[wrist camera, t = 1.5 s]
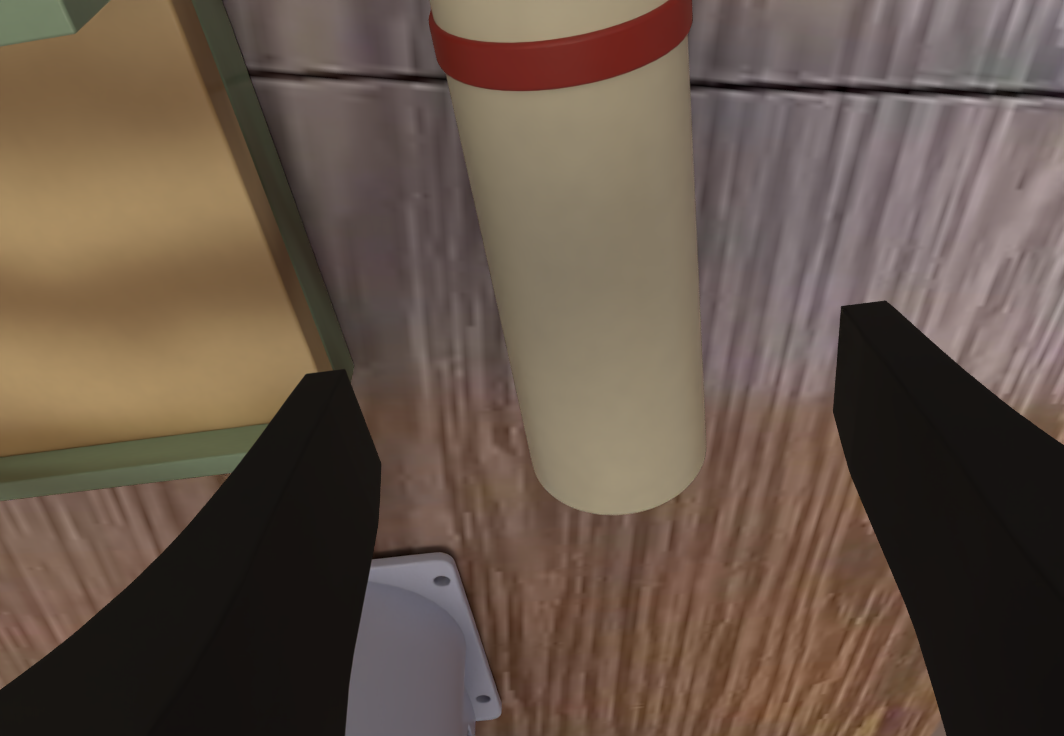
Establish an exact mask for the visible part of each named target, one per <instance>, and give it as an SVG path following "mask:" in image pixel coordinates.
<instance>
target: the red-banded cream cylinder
mask: <svg viewBox="0 0 1064 736" xmlns="http://www.w3.org/2000/svg"><path fill="white" fill-rule="evenodd" d="M429 1H430V5H431V11H430V15H429V27H430V32H431V36H432V40H433V45H434V49H435V54H436V58H437V61H438V63H439V66H440V67H441V69H442V70H443V71H444V72H445V73H446V77H447V82H448V86H449V91H450V95H451V100H452V104H453V109H454V113H455V118H456V122H457V127H458V131H459V136H460V140H461V145H462V149H463V154H464V158H465V163H466V167H467V172H468V176H469V181H470V185H471V190H472V194H473V199H474V203H475V208H476V212H477V217H478V221H479V226H480V230H481V235H482V239H483V244H484V248H485V253H486V257H487V262H488V266H489V271H490V275H491V280H492V284H493V289H494V293H495V298H496V302H497V307H498V311H499V316H500V320H501V325H502V329H503V334H504V338H505V343H506V347H507V352H508V356H509V361H510V365H511V370H512V374H513V379H514V384H515V388H516V393H517V397H518V402H519V406H520V411H521V415H522V420H523V424H524V429H525V433H526V438H527V442H528V447H529V451H530V456H531V460H532V465H533V469H534V471H535V474H536V476H537V478H538V480H539V482H540V483H541V484H542V486H543V487H544V488H545V489H546V490H547V491H548V492H549V493H550V494H551V495H552V496H553V497H554V498H556V499H557V500H559V501H560V502H562V503H564V504H566V505H568V506H570V507H572V508H575V509H578V510H581V511H584V512H588V513H593V514H601V515H624V514H632V513H637V512H642V511H645V510H649V509H652V508H655V507H657V506H659V505H662V504H664V503H666V502H668V501H669V500H671V499H673V498H674V497H676V496H677V495H679V494H680V493H681V492H683V491H684V490H685V489H686V488H687V487H688V486H689V485H690V484H691V483H692V481H693V480H694V479H695V478H696V476H697V474H698V473H699V471H700V469H701V467H702V465H703V462H704V459H705V454H706V427H705V405H704V383H703V361H702V339H701V317H700V295H699V273H698V251H697V229H696V207H695V185H694V163H693V141H692V119H691V97H690V75H689V53H688V33H689V30H690V28H691V25H692V21H693V13H692V0H429Z"/></svg>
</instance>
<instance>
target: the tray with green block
mask: <svg viewBox="0 0 1064 736" xmlns="http://www.w3.org/2000/svg"><path fill="white" fill-rule="evenodd" d="M340 369H345V370H346V372H347V375H348V377H349V380H350V383H351V379H352V375H353V370H354V365H353V362H352V359H351V356H350V353H349V351H348V348H347V345H346V342H345V340H344V337H343V334H342V331H341V329H340V326H339V323H338V320H337V318H336V315H335V312H334V309H333V306H332V304H331V301H330V298H329V295H328V293H327V290H326V287H325V284H324V282H323V279H322V276H321V273H320V271H319V268H318V265H317V262H316V259H315V257H314V254H313V251H312V248H311V246H310V243H309V240H308V237H307V235H306V232H305V229H304V226H303V224H302V221H301V218H300V215H299V212H298V210H297V207H296V204H295V201H294V199H293V196H292V193H291V190H290V188H289V185H288V182H287V179H286V177H285V174H284V171H283V168H282V165H281V163H280V160H279V157H278V154H277V152H276V149H275V146H274V143H273V141H272V138H271V135H270V132H269V130H268V127H267V124H266V121H265V118H264V116H263V113H262V110H261V107H260V105H259V102H258V99H257V96H256V94H255V91H254V88H253V85H252V83H251V80H250V77H249V74H248V71H247V69H246V66H245V63H244V60H243V58H242V55H241V52H240V49H239V47H238V44H237V41H236V38H235V36H234V33H233V30H232V27H231V24H230V22H229V19H228V16H227V13H226V11H225V8H224V5H223V2H222V0H0V501H6V500H14V499H22V498H30V497H38V496H47V495H55V494H63V493H71V492H79V491H88V490H96V489H104V488H112V487H120V486H129V485H137V484H145V483H153V482H161V481H170V480H178V479H186V478H194V477H202V476H211V475H219V474H227V473H232V472H233V471H234V469H235V468H236V467H237V465H238V464H239V463H240V461H241V460H242V459H243V457H244V456H245V455H246V454H247V452H248V451H249V450H250V448H251V447H252V446H253V444H254V443H255V442H256V440H257V439H258V438H259V436H260V435H261V434H262V432H263V431H264V430H265V428H266V427H267V425H268V424H269V423H270V421H271V420H272V419H273V417H274V416H275V414H276V413H277V412H278V410H279V409H280V408H281V406H282V405H283V404H284V402H285V401H286V399H287V398H288V397H289V395H290V394H291V393H292V391H293V390H294V389H295V387H296V386H297V385H298V383H299V382H300V381H301V379H302V378H303V377H304V376H305V374H308V373H316V372H324V371H332V370H340Z"/></svg>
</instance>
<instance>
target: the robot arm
mask: <svg viewBox="0 0 1064 736" xmlns="http://www.w3.org/2000/svg"><path fill="white" fill-rule="evenodd" d="M833 413H834V417H835V421H836V425H837V429H838V432H839V436H840V440H841V444H842V447H843V451H844V454H845V458H846V461H847V465H848V468H849V472H850V474H851V477H852V479H853V482H854V484H855V487H856V489H857V492H858V494H859V496H860V499H861V501H862V503H863V506H864V508H865V511H866V513H867V515H868V518H869V520H870V522H871V525H872V527H873V529H874V532H875V534H876V537H877V539H878V541H879V544H880V546H881V548H882V551H883V553H884V555H885V558H886V560H887V562H888V565H889V567H890V569H891V572H892V574H893V576H894V579H895V581H896V583H897V586H898V588H899V590H900V593H901V595H902V597H903V600H904V602H905V605H906V607H907V610H908V613H909V615H910V618H911V621H912V623H913V626H914V629H915V631H916V634H917V638H918V641H919V644H920V648H921V651H922V654H923V657H924V661H925V664H926V667H927V670H928V674H929V677H930V680H931V684H932V687H933V690H934V693H935V697H936V700H937V704H938V707H939V711H940V714H941V718H942V721H943V724H944V728H945V732H946V735H947V736H1064V445H1063V444H1061V443H1060V442H1058V441H1057V440H1055V439H1054V438H1052V437H1051V436H1050V435H1048V434H1047V433H1045V432H1044V431H1043V430H1041V429H1040V428H1038V427H1037V426H1036V425H1034V424H1033V423H1032V422H1030V421H1029V420H1027V419H1026V418H1025V417H1023V416H1022V415H1020V414H1019V413H1018V412H1016V411H1015V410H1014V409H1012V408H1011V407H1010V406H1009V405H1007V404H1006V403H1005V402H1003V401H1002V400H1001V399H1000V398H998V397H997V396H996V395H995V394H993V393H992V392H991V391H990V390H989V389H987V388H986V387H985V386H984V385H982V384H981V383H980V382H979V381H977V380H976V379H975V378H974V377H973V376H971V375H970V374H969V373H968V372H966V371H965V370H964V369H963V368H962V367H961V366H959V365H958V364H957V363H956V362H955V361H954V360H952V359H951V358H950V357H949V356H948V355H947V354H946V353H944V352H943V351H942V350H941V349H940V348H939V347H938V346H936V345H935V344H934V343H933V342H932V341H931V340H930V339H929V338H927V337H926V336H925V335H924V334H923V333H922V332H921V331H920V330H919V329H917V328H916V327H915V326H914V325H913V324H912V323H911V322H910V321H909V320H907V319H906V318H905V317H904V316H903V315H902V314H901V313H900V312H899V311H897V310H896V309H895V308H894V307H893V306H892V305H890V304H889V303H888V302H887V301H878V302H870V303H863V304H855V305H847V306H841V315H840V328H839V341H838V354H837V367H836V380H835V393H834V405H833ZM380 487H381V461H380V459H379V456H378V453H377V451H376V448H375V446H374V443H373V440H372V438H371V435H370V432H369V430H368V427H367V425H366V422H365V419H364V417H363V414H362V411H361V409H360V406H359V404H358V401H357V398H356V396H355V393H354V391H353V388H352V385H351V383H350V380H349V377H348V375H347V372H346V370H345V369H340V370H332V371H324V372H316V373H308V374H305V376H304V377H303V378H302V379H301V381H300V382H299V383H298V385H297V386H296V387H295V389H294V390H293V391H292V393H291V394H290V395H289V397H288V398H287V399H286V401H285V402H284V404H283V405H282V406H281V408H280V409H279V410H278V412H277V413H276V414H275V416H274V417H273V419H272V420H271V421H270V423H269V424H268V425H267V427H266V428H265V430H264V431H263V432H262V434H261V435H260V436H259V438H258V439H257V440H256V442H255V443H254V444H253V446H252V447H251V448H250V450H249V451H248V452H247V454H246V455H245V456H244V457H243V459H242V460H241V461H240V463H239V464H238V465H237V467H236V468H235V469H234V471H233V472H232V473H231V474H230V476H229V477H228V478H227V480H226V481H225V482H224V483H223V484H222V486H221V487H220V488H219V489H218V490H217V492H216V493H215V494H214V495H213V496H212V498H211V499H210V500H209V501H208V502H207V503H206V505H205V506H204V507H203V508H202V509H201V511H200V512H199V513H198V514H197V515H196V517H195V518H194V519H193V520H192V521H191V522H190V524H189V525H188V526H187V527H186V528H185V529H184V530H183V531H182V532H181V534H180V535H179V536H178V537H177V538H176V539H175V540H174V541H173V542H172V543H171V544H170V545H169V546H168V547H167V548H166V549H165V551H164V552H163V553H162V554H161V555H160V556H159V557H158V558H157V559H156V560H154V561H153V562H152V563H151V564H150V565H149V566H148V567H147V568H146V569H145V570H144V571H143V572H142V573H141V574H140V575H139V576H138V577H137V578H136V579H135V580H134V581H133V582H132V583H131V584H130V585H129V586H128V587H127V588H126V589H124V590H123V591H122V592H121V593H120V594H119V595H118V596H116V597H115V598H114V599H113V600H112V601H111V602H110V603H108V604H107V605H106V606H105V607H104V608H103V609H102V610H101V611H99V612H98V613H97V614H96V615H95V616H94V617H93V618H91V619H90V620H89V621H88V622H87V623H86V624H85V625H83V626H82V627H81V628H80V629H79V630H78V631H76V632H75V633H74V634H73V635H72V636H70V637H69V638H68V639H67V640H65V641H64V642H63V643H62V644H60V645H59V646H58V647H57V648H55V649H54V650H53V651H51V652H50V653H49V654H48V655H46V656H45V657H44V658H43V659H41V660H40V661H39V662H37V663H36V664H35V665H33V666H32V667H31V668H29V669H28V670H27V671H25V672H24V673H23V674H21V675H20V676H18V677H17V678H16V679H14V680H13V681H12V682H10V683H9V684H8V685H6V686H5V687H3V688H2V689H1V690H0V736H475V721H483V720H492V719H496V718H497V717H499V716H500V715H501V711H502V703H501V700H500V697H499V694H498V691H497V688H496V685H495V682H494V679H493V676H492V673H491V670H490V667H489V664H488V661H487V658H486V655H485V651H484V648H483V645H482V642H481V639H480V636H479V633H478V630H477V627H476V624H475V621H474V618H473V615H472V612H471V609H470V606H469V603H468V600H467V597H466V594H465V591H464V588H463V585H462V582H461V578H460V575H459V572H458V569H457V566H456V563H455V560H454V559H453V557H451V556H450V555H448V554H446V553H443V552H433V553H425V554H416V555H407V556H398V557H389V558H380V559H372V557H373V551H374V546H375V540H376V535H377V529H378V521H379V506H380Z"/></svg>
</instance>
